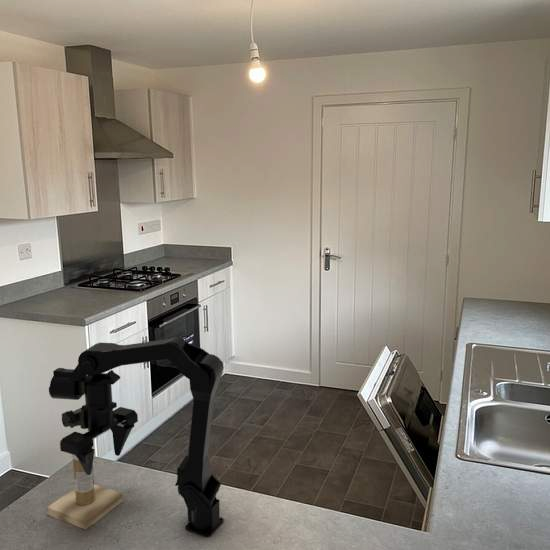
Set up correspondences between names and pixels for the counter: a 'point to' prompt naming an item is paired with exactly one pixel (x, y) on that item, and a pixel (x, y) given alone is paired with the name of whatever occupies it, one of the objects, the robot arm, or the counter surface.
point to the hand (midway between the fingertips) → (103, 464)
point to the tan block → (84, 507)
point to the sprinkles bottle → (83, 483)
